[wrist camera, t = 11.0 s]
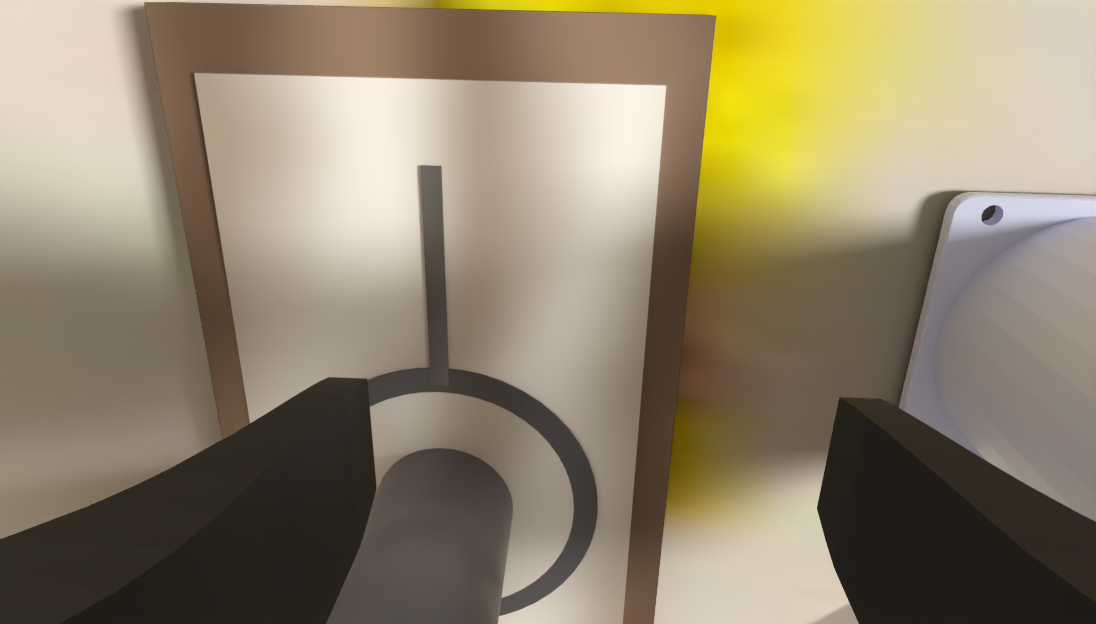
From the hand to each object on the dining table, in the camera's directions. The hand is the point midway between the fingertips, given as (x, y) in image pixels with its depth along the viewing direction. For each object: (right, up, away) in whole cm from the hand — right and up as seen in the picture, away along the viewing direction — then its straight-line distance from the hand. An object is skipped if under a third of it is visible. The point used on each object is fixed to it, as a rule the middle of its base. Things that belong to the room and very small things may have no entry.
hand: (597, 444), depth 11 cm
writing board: (-4, 0, +10) cm, 11 cm away
